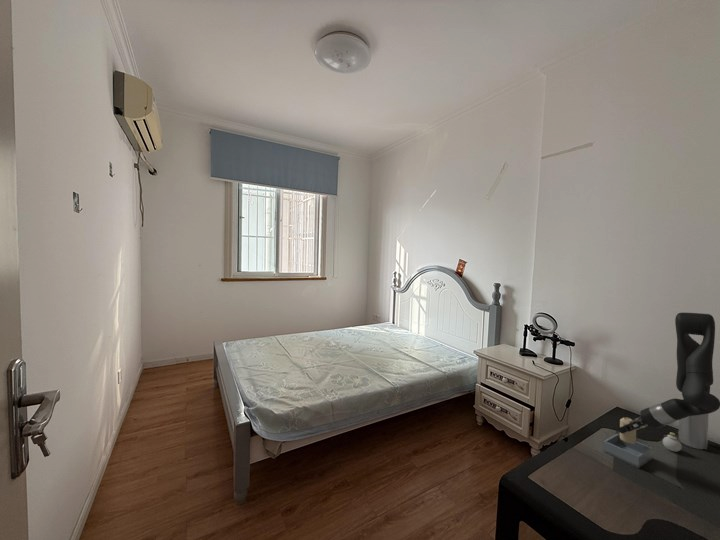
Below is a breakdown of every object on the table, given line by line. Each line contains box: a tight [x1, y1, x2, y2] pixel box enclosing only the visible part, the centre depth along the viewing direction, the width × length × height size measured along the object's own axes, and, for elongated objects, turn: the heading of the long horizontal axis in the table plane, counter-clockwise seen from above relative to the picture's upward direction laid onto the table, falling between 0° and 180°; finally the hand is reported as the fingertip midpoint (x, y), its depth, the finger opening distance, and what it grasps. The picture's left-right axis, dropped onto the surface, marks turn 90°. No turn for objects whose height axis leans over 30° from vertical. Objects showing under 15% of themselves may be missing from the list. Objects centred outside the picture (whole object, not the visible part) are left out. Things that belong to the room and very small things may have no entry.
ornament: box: [662, 431, 685, 453], centre depth 136 cm, size 6×7×10 cm
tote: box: [602, 433, 653, 469], centre depth 133 cm, size 14×13×5 cm
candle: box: [619, 416, 637, 444], centre depth 132 cm, size 6×6×10 cm
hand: (623, 429), depth 134 cm, fingers closed on candle, 5 cm apart
